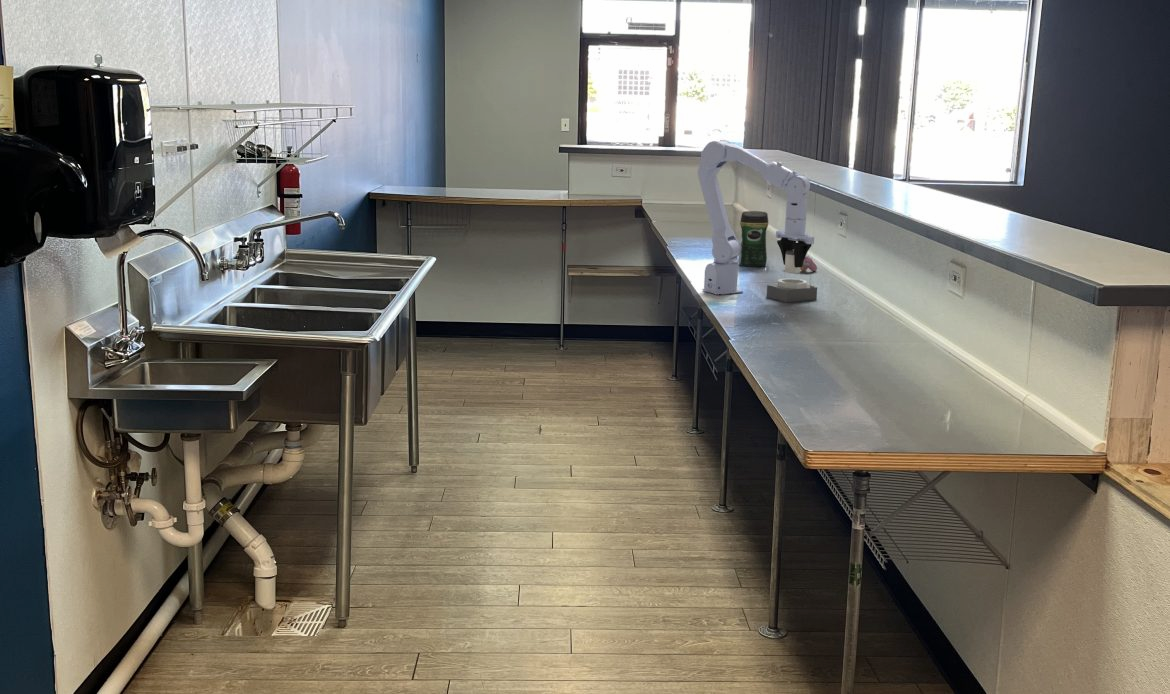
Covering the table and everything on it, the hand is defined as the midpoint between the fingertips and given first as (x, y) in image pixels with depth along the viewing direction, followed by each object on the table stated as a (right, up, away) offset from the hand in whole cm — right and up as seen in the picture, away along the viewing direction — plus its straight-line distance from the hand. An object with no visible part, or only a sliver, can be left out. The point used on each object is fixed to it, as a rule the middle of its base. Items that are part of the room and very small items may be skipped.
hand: (792, 265), depth 296 cm
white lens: (0, -2, 0) cm, 2 cm away
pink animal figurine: (+13, +2, +50) cm, 52 cm away
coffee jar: (-2, +5, +59) cm, 59 cm away
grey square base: (0, -9, +2) cm, 9 cm away
